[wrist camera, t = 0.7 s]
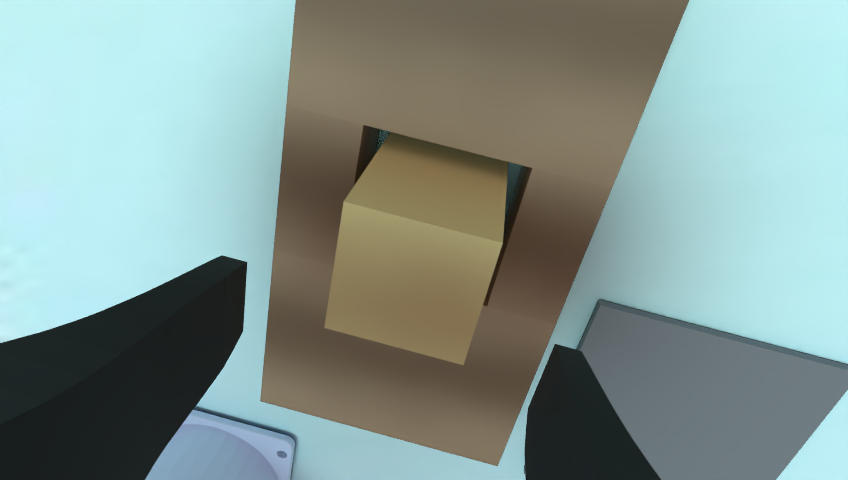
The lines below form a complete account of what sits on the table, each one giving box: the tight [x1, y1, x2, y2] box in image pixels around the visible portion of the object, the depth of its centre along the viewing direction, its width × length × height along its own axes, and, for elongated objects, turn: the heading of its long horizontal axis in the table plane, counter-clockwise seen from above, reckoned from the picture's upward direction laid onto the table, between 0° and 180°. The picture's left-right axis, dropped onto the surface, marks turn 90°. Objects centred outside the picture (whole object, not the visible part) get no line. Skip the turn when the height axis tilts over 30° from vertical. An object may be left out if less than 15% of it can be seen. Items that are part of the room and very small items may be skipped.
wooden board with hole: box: [260, 0, 689, 466], centre depth 20 cm, size 20×10×3 cm, turn 168°
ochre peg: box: [324, 132, 509, 365], centre depth 18 cm, size 4×4×7 cm
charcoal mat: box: [524, 300, 848, 480], centre depth 24 cm, size 10×10×1 cm
